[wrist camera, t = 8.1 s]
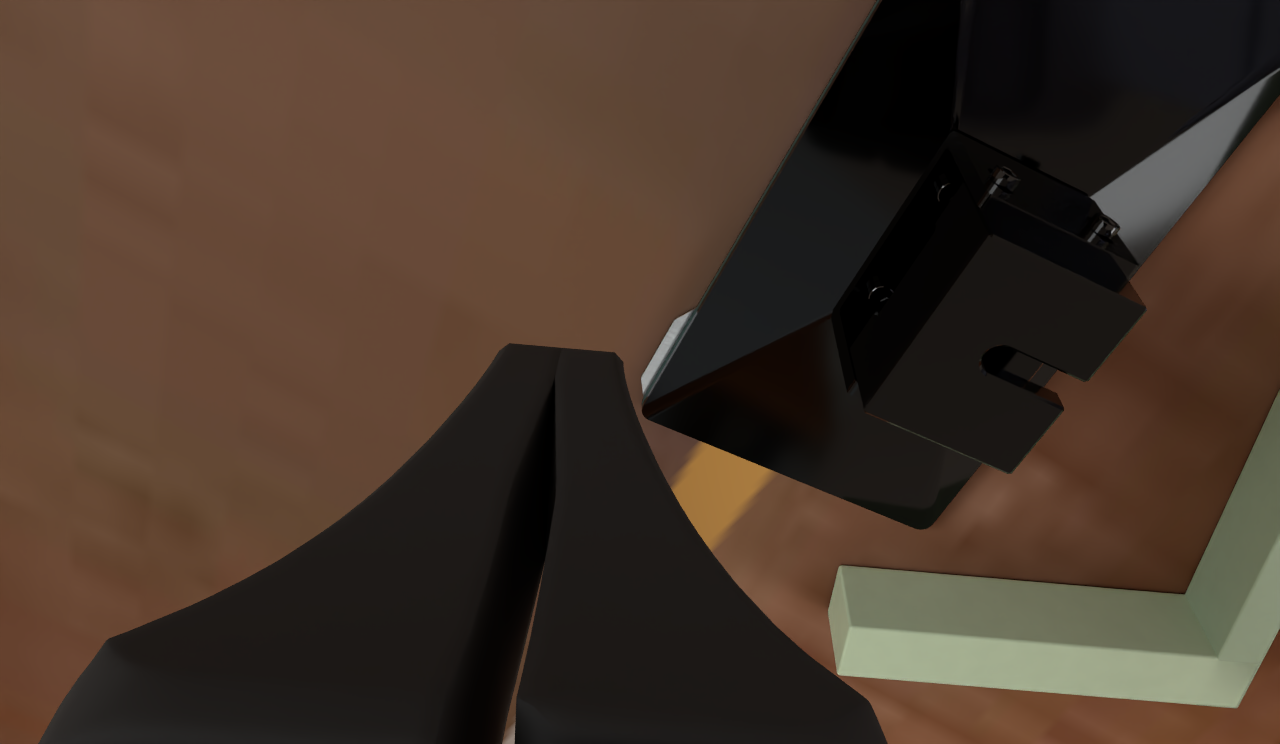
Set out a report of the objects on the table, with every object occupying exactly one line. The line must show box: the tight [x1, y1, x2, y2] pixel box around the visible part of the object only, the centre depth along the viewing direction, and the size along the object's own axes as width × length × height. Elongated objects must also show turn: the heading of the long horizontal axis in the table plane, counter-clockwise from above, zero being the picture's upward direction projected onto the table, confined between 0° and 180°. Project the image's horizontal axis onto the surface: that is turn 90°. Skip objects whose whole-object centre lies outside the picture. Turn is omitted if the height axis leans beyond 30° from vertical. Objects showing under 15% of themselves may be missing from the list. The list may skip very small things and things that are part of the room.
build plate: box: [641, 0, 1280, 530], centre depth 21 cm, size 12×7×5 cm, turn 154°
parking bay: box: [828, 390, 1280, 708], centre depth 22 cm, size 9×19×2 cm, turn 175°
